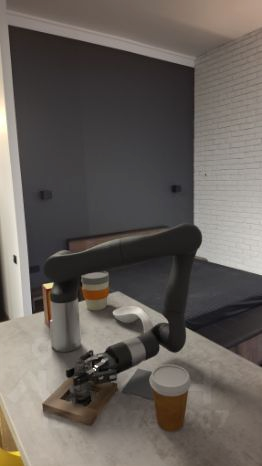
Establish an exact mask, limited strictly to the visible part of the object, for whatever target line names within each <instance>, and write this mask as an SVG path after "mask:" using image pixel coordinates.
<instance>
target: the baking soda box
mask: <svg viewBox="0 0 262 466" xmlns="http://www.w3.org/2000/svg"><path fill="white" fill-rule="evenodd" d="M53 283H54V282H49V283H43V284H41V289H42V302H43V313H44V323H46V325H47V327H48V328H50V320H52V315H51V302H50V291H51V289H52V287H53Z"/></svg>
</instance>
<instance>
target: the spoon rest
mask: <svg viewBox="0 0 262 466" xmlns="http://www.w3.org/2000/svg"><path fill="white" fill-rule="evenodd" d="M112 315H113V316H114V318H115V319H117V320H118V321H120V322H121V323H123V324H131V323H132V324H133V323H134V322H135V321H137V320H138V319H140V321H141V323H142V325H143V334H145V333H146V332H147V331H148V330H150V329H151V328H152V327H154V326H155V325H153V322H152V320H151V319H150V317H149V316H148V314H147V312H145V311H144V310H143V309H142V308H141V307H138V306H135V305H134V306H133V305H131V306H130V305H129V306H122V307H119V308H115V309H114V310H113V311H112Z"/></svg>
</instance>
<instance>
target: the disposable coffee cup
mask: <svg viewBox="0 0 262 466" xmlns="http://www.w3.org/2000/svg"><path fill="white" fill-rule="evenodd" d="M151 372H152V374H151V376H150V378H149V382H150V385H151V387H152V392H153V398H154V401H153V402H154V403H153V404H154V409H155V417H156V423H157V426H158V427H159V428H161V430H164V431H166V432H171V433H172V432H177V431H179V430H181V429H182V428H183V427H184V424H185V419H186V411H187V404H188V403H187V402H188V396H189V389H190V387H191V384H192V380H191V377H190V375H189V372H188V371H187V370H186V369H185V368H183V367H181V366H180V365H176V364H162V365H158V366H156V367H155V368H154V369H153V370H152V371H151Z"/></svg>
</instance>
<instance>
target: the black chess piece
mask: <svg viewBox="0 0 262 466" xmlns="http://www.w3.org/2000/svg"><path fill="white" fill-rule="evenodd" d="M73 366H74V374H73V377H75V376H77V375H80V374H82V373H84V372H87V371H86V369H85V367H86V365H85V362H84V361H83V360H80V357H78V358H77V360H76V361H75V362H74V363H73ZM91 390H92V384H91V383H90V382H85V383H83V384H81V385H77V386H74V385H73V384H72V385H71V387H70V393H71V396H72V398H71V403H74V404H78V405H81V406H84V407H87V406H88V405H89V403H90V402H91V401H92V400H93V396H92V395H91V392H92V391H91Z"/></svg>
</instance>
